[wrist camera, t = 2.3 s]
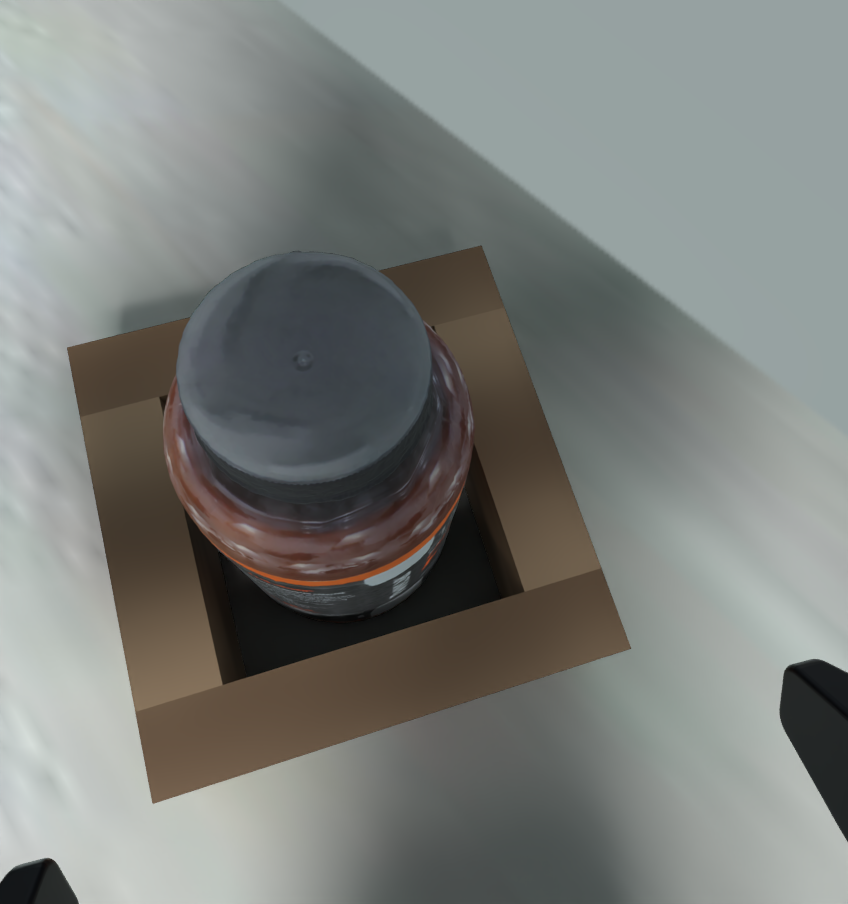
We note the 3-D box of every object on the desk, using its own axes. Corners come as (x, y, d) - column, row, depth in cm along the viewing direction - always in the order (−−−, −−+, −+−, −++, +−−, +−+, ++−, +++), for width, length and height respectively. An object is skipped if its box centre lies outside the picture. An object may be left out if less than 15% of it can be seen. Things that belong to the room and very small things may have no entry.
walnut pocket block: (594, 655, 22) (631, 648, 18) (191, 786, 20) (153, 804, 17) (469, 305, 25) (481, 245, 22) (113, 397, 23) (67, 347, 20)
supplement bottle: (460, 610, 22) (529, 530, 11) (249, 639, 21) (107, 583, 11) (431, 414, 24) (466, 181, 13) (235, 437, 23) (101, 213, 12)
